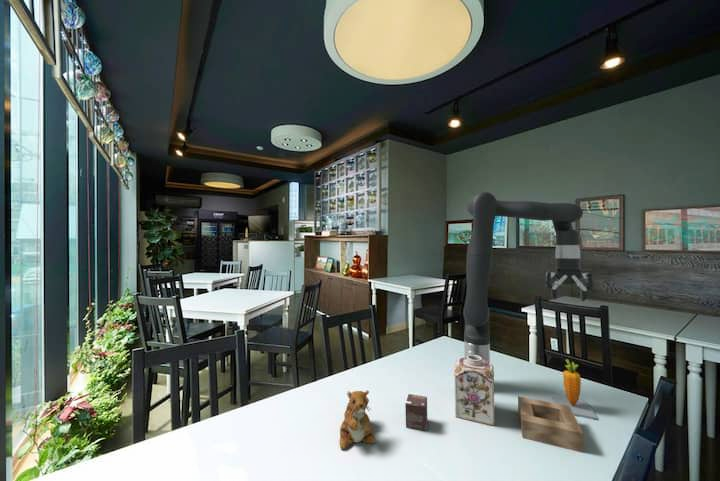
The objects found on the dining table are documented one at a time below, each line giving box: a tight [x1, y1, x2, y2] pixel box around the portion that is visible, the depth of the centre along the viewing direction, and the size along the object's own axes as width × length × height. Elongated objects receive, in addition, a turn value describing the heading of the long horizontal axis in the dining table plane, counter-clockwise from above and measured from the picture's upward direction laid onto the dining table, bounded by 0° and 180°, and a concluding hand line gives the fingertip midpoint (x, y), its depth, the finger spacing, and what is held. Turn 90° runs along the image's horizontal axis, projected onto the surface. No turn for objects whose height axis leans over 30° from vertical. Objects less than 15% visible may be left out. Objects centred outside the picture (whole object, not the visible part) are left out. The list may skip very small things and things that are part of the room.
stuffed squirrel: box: [339, 390, 376, 450], centre depth 83 cm, size 10×14×13 cm
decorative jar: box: [453, 355, 496, 426], centre depth 93 cm, size 12×12×18 cm
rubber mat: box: [552, 395, 598, 421], centre depth 95 cm, size 10×10×1 cm
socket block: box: [517, 395, 584, 453], centre depth 84 cm, size 14×14×5 cm
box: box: [404, 393, 428, 432], centre depth 87 cm, size 6×6×7 cm
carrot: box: [562, 359, 582, 406], centre depth 95 cm, size 5×5×15 cm
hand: (568, 300), depth 107 cm, fingers open, 8 cm apart
